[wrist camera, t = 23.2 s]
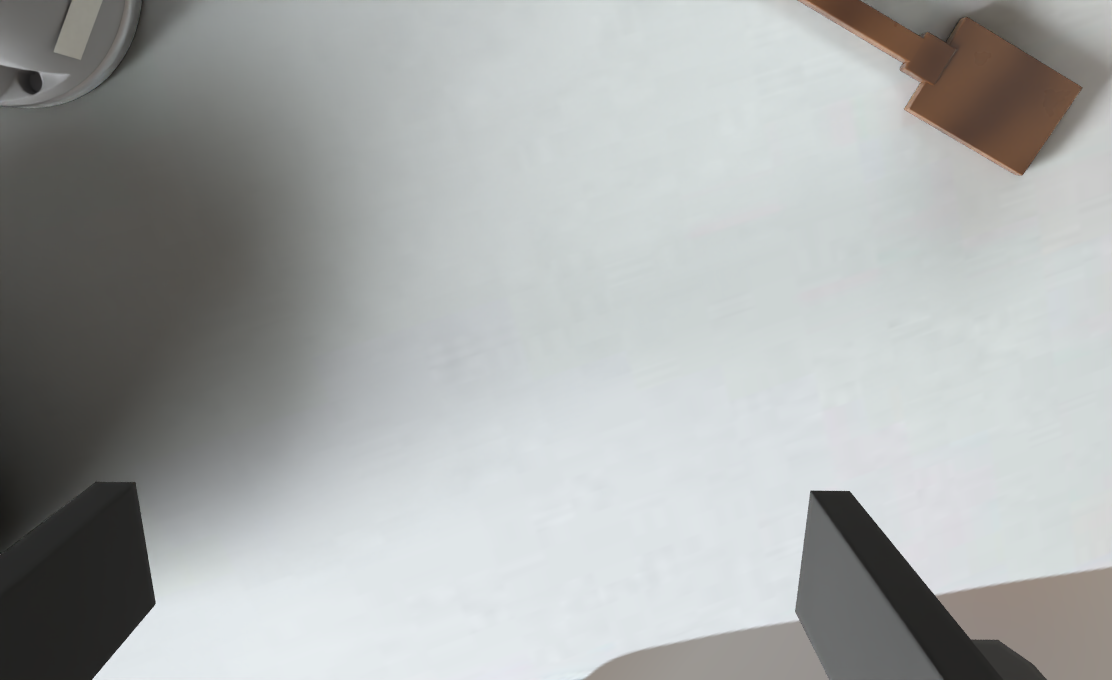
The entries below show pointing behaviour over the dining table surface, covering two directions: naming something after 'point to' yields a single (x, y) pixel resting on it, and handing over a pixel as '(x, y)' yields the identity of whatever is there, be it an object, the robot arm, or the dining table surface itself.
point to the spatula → (968, 83)
